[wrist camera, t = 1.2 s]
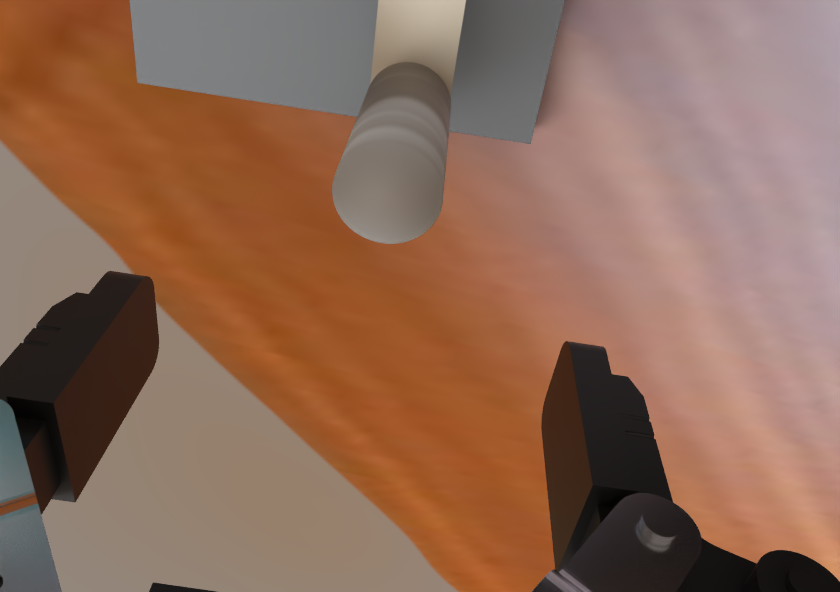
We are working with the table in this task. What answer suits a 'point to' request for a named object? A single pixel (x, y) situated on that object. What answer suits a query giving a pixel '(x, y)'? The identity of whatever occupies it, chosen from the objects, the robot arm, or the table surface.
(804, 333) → the table surface
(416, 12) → the lever
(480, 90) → the board
